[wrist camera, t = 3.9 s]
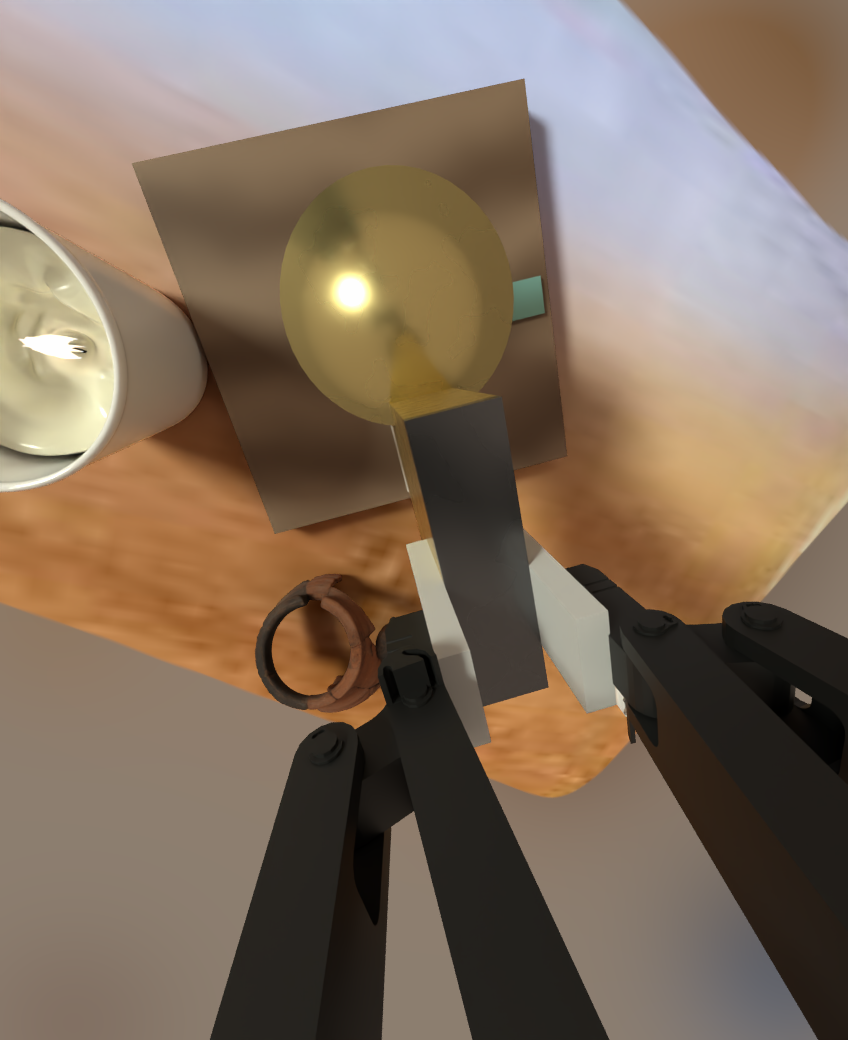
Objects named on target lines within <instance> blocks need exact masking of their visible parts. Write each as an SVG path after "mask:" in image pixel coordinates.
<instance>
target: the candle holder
mask: <svg viewBox="0 0 848 1040" xmlns="http://www.w3.org/2000/svg"><path fill="white" fill-rule="evenodd" d="M207 377H208V364H207V357H206V354H205V352H204V349H203V346H202V344H201V341H200V339H199V336H198V333H197V331H196V328H195V327H194V325H193V324H192V322H191V321H190V319H189V318H188V317H187V316H186V314H185V313H184V312H183V311H182V310H181V309H180V308H179V307H178V306H177V305H176V304H175V303H174V302H172V301H171V300H170V299H169V298H167V297H166V296H165V295H163V294H162V293H160V292H159V291H157V290H156V289H154V288H152V287H151V286H149V285H147V284H146V283H144V282H142V281H141V280H139V279H137V278H135V277H134V276H132V275H130V274H128V273H127V272H125V271H123V270H121V269H119V268H118V267H116V266H114V265H112V264H111V263H109V262H107V261H105V260H103V259H102V258H100V257H98V256H96V255H95V254H93V253H91V252H89V251H87V250H86V249H84V248H82V247H80V246H79V245H77V244H75V243H73V242H72V241H70V240H68V239H66V238H64V237H63V236H61V235H59V234H57V233H56V232H54V231H52V230H50V229H48V228H47V227H45V226H43V225H41V224H40V223H38V222H36V221H35V220H33V219H32V218H31V217H29V216H28V215H26V214H25V213H23V212H22V211H20V210H19V209H17V208H16V207H14V206H12V205H11V204H9V203H7V202H6V201H4V200H2V199H0V492H16V491H25V490H31V489H36V488H40V487H44V486H47V485H50V484H53V483H56V482H58V481H61V480H63V479H65V478H67V477H69V476H71V475H73V474H75V473H76V472H78V471H80V470H81V469H83V468H84V467H86V466H88V465H90V464H93V463H95V462H97V461H99V460H101V459H103V458H106V457H108V456H110V455H112V454H114V453H117V452H119V451H121V450H123V449H125V448H127V447H130V446H132V445H134V444H136V443H138V442H141V441H143V440H145V439H147V438H149V437H151V436H154V435H156V434H158V433H160V432H162V431H164V430H166V429H168V428H170V427H172V426H174V425H176V424H178V423H179V422H181V421H182V420H184V419H185V418H186V417H187V416H188V415H190V414H191V413H192V412H193V410H194V409H195V408H196V407H197V405H198V404H199V402H200V400H201V398H202V396H203V394H204V391H205V388H206V384H207Z"/></svg>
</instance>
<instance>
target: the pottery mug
mask: <svg viewBox="0 0 848 1040" xmlns="http://www.w3.org/2000/svg"><path fill="white" fill-rule="evenodd" d="M341 580H342V576H341V575H339V574H325V575H322V576H317V577H315V578H314V579H312V580H311V581H309V580H307V581H304V582H302V583H301V584H299V585H298V586H296V587H295V588H294V589H293V590H291V591H290V592H289V593H288V594H287V595H286V596H285V597H283V598H282V600H281V601H280V602H279V603H278V604H277V605H276V607H275V608H274V609H273V610H272V611H271V612H270V613H269V614H268V616H267V617H266V619H265V621H264V623H263V627H262V628H261V629H260V632H259V634H258V636H257V643H256V649H255V657H256V666H257V669H258V674H259V676H260V677H261V678H262V682H263V683H264V685H265V687H266V688H267V689H268V691H269V693H270V694H272V696H273V697H274V698H275V699H276V700H277V701H279V702H280V703H282V704H285V705H287V706H289V707H292V708H296V709H301V710H306V709H318V710H319V711H321V712H328V713H331V712H339V711H343V710H347V709H350V708H352V707H354V706H356V705H358V704H360V703H362V702H363V701H365V700H366V699H368V698H369V696H371V695H372V694H374V693H375V692H376V690H377V689H378V688H379V687H380V683H379V680H378V677H377V676H378V667H379V666H380V664H381V662H382V660H383V659H384V658H386V657H387V647H386V636H385V630H386V628H387V626H388V624H387V625H385V626H384V627H383V628H382V630H381V631H380V632H379V634H378V636H377V640H376V646H375V645H374V644H373V643H372V642H371V640H370V638H369V636H370V634H371V633H372V632H373V631H374V630H375V627H374V625H373V624H372V623H371V621H370V620H369V618H368V617H367V616H366V615H365V613H364V611H363V610H362V609H361V608H360V607H359V606H358V605H357V604H356V603H355V602H354V601H353V600H352V599H351V598H350V597H349V596H348V595H346V594H345V593H344V592H342V591H340V590H338V589H336V588H334V585H335V584H336V583H338V582H340V581H341ZM309 600H321V607H322V608H323V609H325V610H327V611H328V612H330V613H331V614H333V615H334V616H335V617H336V618H337V619H338V620H339V621H340V622H341V624H342V625H343V627H344V629H345V631H346V633H347V636H348V639H349V643H350V646H351V651H350V661H349V665H348V668H347V670H346V673H345V675H344V676H337V678H336V679H335V681H334V683H333V684H332V685H330V686H329V687H328V689H327V691H328V692H326V693H323V694H319V695H310V696H308V695H303V694H300V693H297V692H296V691H294V690H292V689H290V688H289V687H288V686H287V685H286V684H285V683H284V682H283V681H282V680H281V679H280V677H279V676H278V674H277V672H276V670H275V667H274V664H273V659H272V641H273V637H274V634H275V631H276V629H277V627H278V625H279V624H280V622H281V621H282V620H283V619H284V617H285V616H286V615H287V614H289V613H290V612H292V611H293V610H295V609H297V608H300V607H303V606H306V605H307V604H308V602H309ZM392 618H395V617H392ZM392 618H391V619H392ZM391 619H390V620H391Z"/></svg>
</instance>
